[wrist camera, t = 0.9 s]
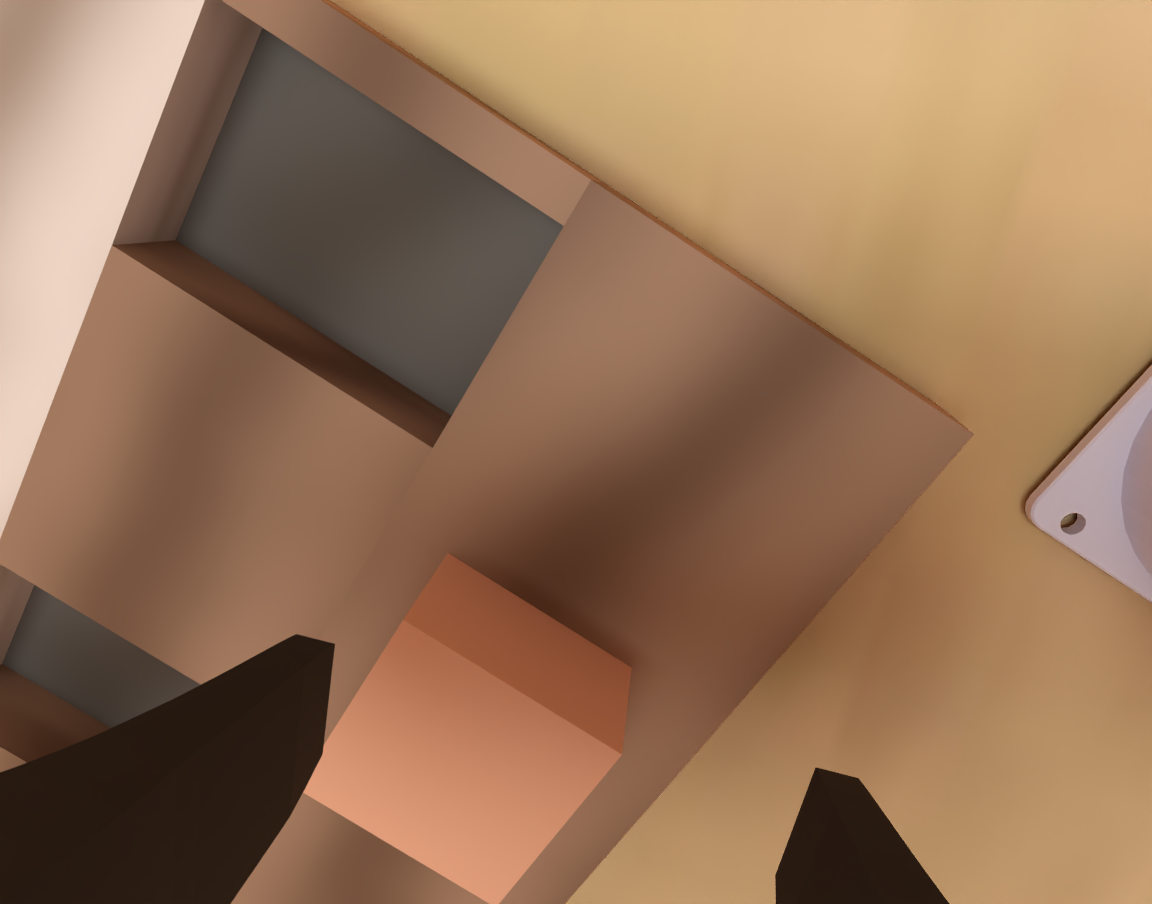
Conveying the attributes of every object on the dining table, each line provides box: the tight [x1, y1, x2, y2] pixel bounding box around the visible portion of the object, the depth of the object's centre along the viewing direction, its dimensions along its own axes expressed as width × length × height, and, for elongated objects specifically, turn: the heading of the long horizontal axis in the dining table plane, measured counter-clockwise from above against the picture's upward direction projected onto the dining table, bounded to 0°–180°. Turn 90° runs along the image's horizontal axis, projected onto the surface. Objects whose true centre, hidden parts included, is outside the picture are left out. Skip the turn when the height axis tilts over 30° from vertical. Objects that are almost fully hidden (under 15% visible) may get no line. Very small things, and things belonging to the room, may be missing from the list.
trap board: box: [0, 0, 974, 904], centre depth 19 cm, size 24×22×4 cm
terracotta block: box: [303, 553, 632, 904], centre depth 17 cm, size 5×5×3 cm
